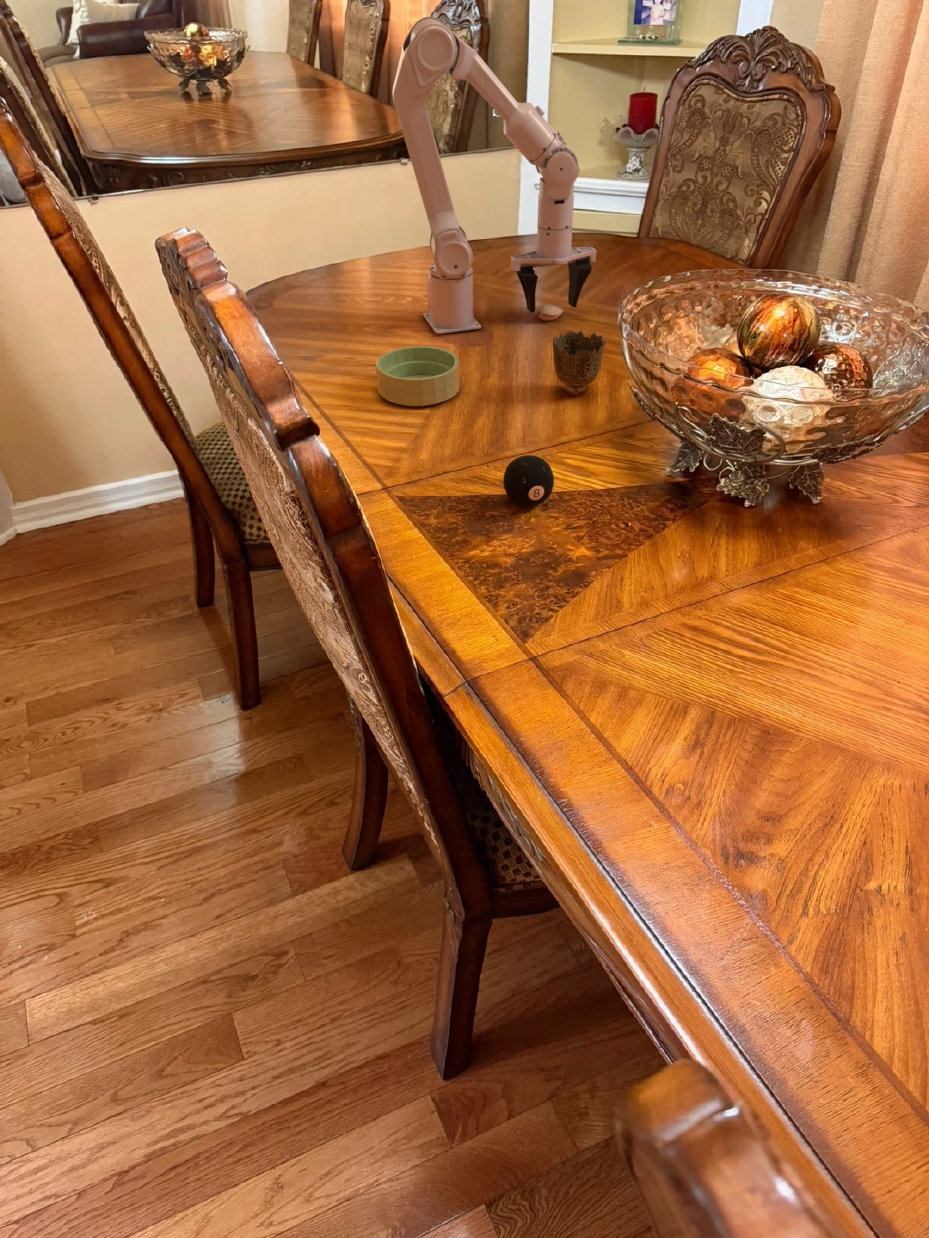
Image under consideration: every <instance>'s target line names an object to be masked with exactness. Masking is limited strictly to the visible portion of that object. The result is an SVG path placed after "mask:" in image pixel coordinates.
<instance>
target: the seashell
mask: <svg viewBox="0 0 929 1238" xmlns="http://www.w3.org/2000/svg"><path fill="white" fill-rule="evenodd" d="M536 310H537V312H536V315H537V316H538V318H539V320H542V321H547V322H548V321H552V320H556V319H557V318H558V317H560V316H561V315H562V313H564V311H565V308H563V307H561V306H560V305H556V304H553V303H541V304H540V305H539V306H537V308H536Z"/></svg>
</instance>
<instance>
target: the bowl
mask: <svg viewBox="0 0 929 1238" xmlns="http://www.w3.org/2000/svg"><path fill="white" fill-rule="evenodd" d="M375 371H376V372H375V373H376V374H375V375H376V384H377V392H378V394H379V396H380V397H381V398H383V399H385V400H386V401H388V402H391V403H393V404H397V405H401V406H406V407H427V406H432V405H436V404H439V403H443V402H445V401H448V400H450V399H451V398H453V397H455V396H456V395H457V394H458V392H459V391H460V387H461V385H460V384H461V382H460V380H461V379H460V378H461V376H460V359H459V358H458V355H456V353H454V352H452V351H450V350H448V349H445V348H442V347H438V346H429V345H412V346H405V347H399V348H396V349H393V350H390V351H388V352H386V353H383V354H382V355H380V357H379V358H377V359H376V364H375Z"/></svg>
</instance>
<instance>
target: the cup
mask: <svg viewBox="0 0 929 1238" xmlns="http://www.w3.org/2000/svg"><path fill="white" fill-rule="evenodd" d="M552 339H553V340H552V350H553V363H554V365H553V366H554V372H555V374H556V375H555V376H556V377H557V379H558V380H559V381H560V383H562V384H563V387H562V388H563V390H564V392H565V393H566V394H567V395H569V396H573V397H578V396H583V395H585V394H586V393H587V392H588V390H589V385H590V384H591V383H593V382H594V381H595V380H596V378H597V376H598V375H599V372H600V368H601V365H602V364H601V363H602V360H603V359H602V358H603V354H604V348H605V345H606V341H605V340H604V338H603V335H598V336H597V333H596V332H593V333H591V334H590V336H587V335H584V331H582V330H579V331H578V332H577V333H576V332H575V331H573V330H569V331H567V333H566V334H565V335H564V334H563V333H560V334H559V336H557V335H556V336H554V337H553V338H552Z"/></svg>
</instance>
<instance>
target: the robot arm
mask: <svg viewBox="0 0 929 1238" xmlns="http://www.w3.org/2000/svg"><path fill="white" fill-rule="evenodd" d="M447 72H448V74H449V76H450V77H451V78H454V79H457V80H461V81H466V82H468V84H470V85H471V87H473V88H474V89H475V91H477V92H478V94H479V95H480V96H481V97H482V98H483V99H484V100H485V101H486V102H487V104H489V105H490V106H491V107H492V108H493V109H494V111H495V112H496V113H497V114H498V115H499V117H501V118H502V119H503V135H504V136H505V137H506V138H507V140H509V141H510V143H511V144H512V145H513V146H514V147H515V148H516V149H517V151H518V152H519V153H520V154H521V155H522V156H523V157H524V158H525V159H526V160H527V162H528V163H529V164H530V165H532V166H535V169H536V170H535V171H536V172H537V173H538V174H540V176H541V177H539V190H538V191H539V192H538V197H537V227H536V229H537V232H536V250H532V251H530V252H526V253H521V254H518V255H511V256H510V269H511V270H512V271H514V272H515V274H516V275H517V278H518V280H519V281H520V284H521V285H520V286H521V288H522V290H523V294H524V299H525V303H526V310H527V311H528V312H529V313H531V314H534V313H536V291H537V283H538V279H539V276H538V274H536V270H535V268H544V267H551V266H560V265H567V267H568V293H567V294H568V295H567V301H568V305H569V306H571V307H572V308H577V306H578V302H579V298H580V295H581V292H582V289H583V287H584V285H585V283H586V281H587V279H588V277H589V276H590V274H591V273H592V270H593V265H592V264H591V263H595V262H596V259H597V249H596V248H594V247H593V246H586V247H572V243H573V242H572V240H573V223H574V203H575V201H574V200H575V195H574V188H575V182H576V180H577V179H578V177H579V174H580V171H581V167H580V166H579V163H578V158H577V156H576V154H575V152H573V150H572V149H571V148H570V147H569V146H568V145H567V143H566V141H564V139H565V136H564V135H563V134H562V133H561V132H560V131H558V132H556V130H554V128H553V127H552V126H551V125H550V123H549V122H548V121H547V120H546V119H545V118H544V115H545V112H544V110H543V109H542V108H541V107H540V106H539V105H536V106H534V105H533V104H532V103H531V102H518V101H517V100H516V99H515V98H514V97H513V95H512V94H511V93H510V92H509V90H508V89H507V87H506V86H504V84H503V82H501V80H500V79H499V78H498V77H497V76H496V74H495V73H494V72H493V71H492V69H491V68H490V67H489V66H488V65H487V63H486V62H485V61H484V60H483V58H482V57H481V56H480V54H478V52H477V51H476V50H474V48H473V47H471V46H470V45H469V44H468V43H467V42H466V41H465V40H463V39H462V38H461V37H460V36H458V35H457V34H456V33H455V32H453V31H451V30H450V28H448V27H447V25H446V24H445V22H443V20H441V19H439V18H438V17H434V16H425V17H422V18H419V19H418V20H417V21H416V22H414V24H413V25H412V27H411V29H410V30H409V32H408V33H407V35H406V37H405V38H404V40H403V42H402V45H401V52H400V57H399V60H398V65H397V69H396V72H395V73H396V74H395V78H394V82H393V86H392V91H391V93H392V100H393V103H394V108H395V111H396V114H397V117H398V121H399V125H400V128H401V131H402V134H403V138H404V142H405V145H406V148H407V152H408V156H409V159H410V163H411V166H412V169H413V172H414V175H415V176H414V177H415V179H416V182H417V186H418V190H419V193H420V197H421V200H422V203H423V204H422V205H423V207H424V211H425V214H426V217H427V221H428V225H429V227H430V237H429V247H430V248H429V249H430V251H431V252H432V256H433V262H432V264H431V266H430V267H429V273H428V275H427V278H426V279H427V280H426V285H427V286H426V287H427V307H428V312H424V313H423V314H422V316H423V318H424V319H425V321H426V322H427V323H428V325H429V326H430V328H431V329H432V331H433V332H434V333H435V334H436V335H445V334H451V333H459V332H466V331H473V330H480V329H481V328H482V325H481V324H480V323H479V321H478V320H477V319H476V318H475V317H474V268H473V266H472V264H473V259H474V255H473V250H472V248H471V246H470V245H469V242H468V238H467V234H466V232H465V230H464V229H463V228H462V227H461V225H460V223H459V222H458V219H457V216H456V212H455V208H454V205H453V200H452V198H451V197H452V196H451V193H450V189H449V186H448V182H447V178H446V175H445V171H444V167H443V164H442V160H441V156H440V153H439V148H438V146H437V145H438V144H437V141H436V138H435V134H434V130H433V127H432V124H431V119H430V116H429V112H428V108H427V105H426V103H427V100H428V99H429V96H430V94H431V93H432V91H433V89H434V87H435V85H436V83H437V82H438V81H439V80H440V79H441V78H442V77H443V76H444V75H446V73H447Z"/></svg>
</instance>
